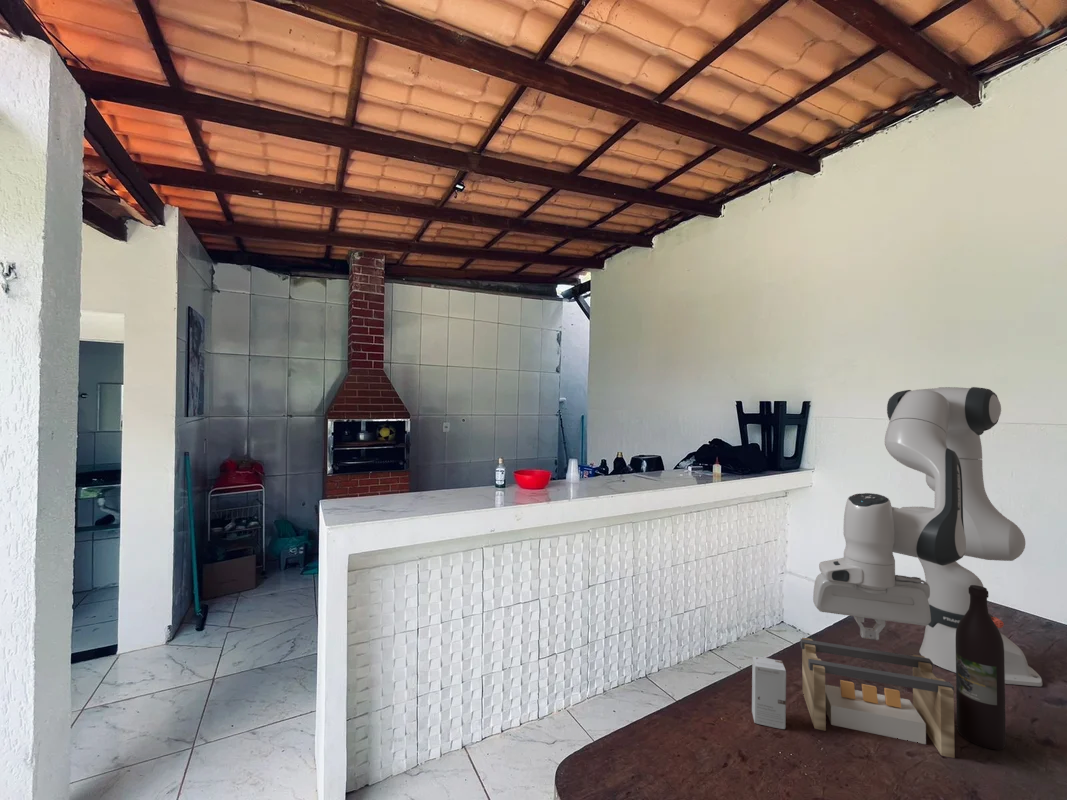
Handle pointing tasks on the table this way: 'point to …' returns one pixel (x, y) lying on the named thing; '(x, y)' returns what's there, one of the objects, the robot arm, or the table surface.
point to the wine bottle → (980, 675)
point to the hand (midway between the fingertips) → (869, 638)
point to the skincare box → (769, 692)
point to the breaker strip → (874, 716)
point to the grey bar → (880, 676)
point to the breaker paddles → (870, 693)
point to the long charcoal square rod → (866, 653)
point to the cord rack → (927, 703)
